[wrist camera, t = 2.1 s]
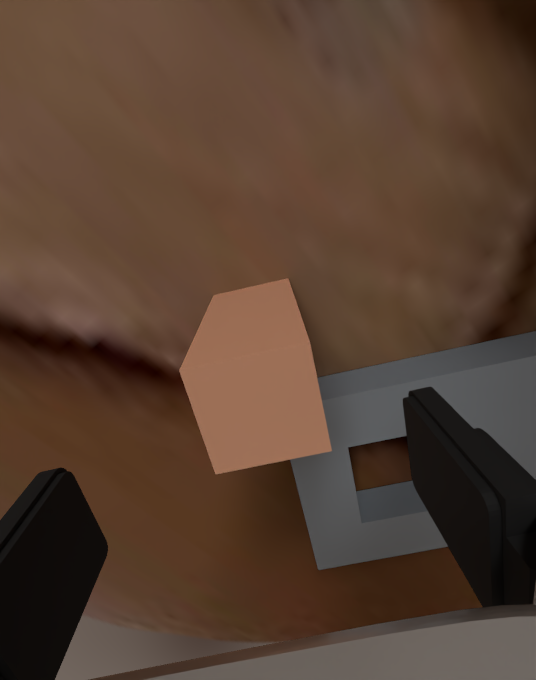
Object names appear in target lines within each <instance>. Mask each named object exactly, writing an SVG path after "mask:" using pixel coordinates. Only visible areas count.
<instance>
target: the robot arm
mask: <svg viewBox="0 0 536 680" xmlns="http://www.w3.org/2000/svg"><path fill="white" fill-rule="evenodd" d="M403 410H404V418H405V426H406V434H407V443H408V451H409V459H410V467H411V476H412V481H413V484H414V487H415V489H416V491H417V493H418V495H419V497H420V498H421V500H422V502H423V504H424V505H425V507H426V509H427V511H428V512H429V514H430V516H431V518H432V519H433V521H434V523H435V525H436V526H437V528H438V530H439V531H440V533H441V535H442V537H443V538H444V540H445V542H446V544H447V545H448V547H449V549H450V551H451V552H452V554H453V556H454V558H455V559H456V561H457V563H458V565H459V566H460V568H461V570H462V571H463V573H464V575H465V577H466V578H467V580H468V582H469V584H470V585H471V587H472V589H473V591H474V592H475V594H476V596H477V598H478V599H479V601H480V603H481V605H482V606H483V607H482V608H474V609H465V610H457V611H451V612H445V613H439V614H434V615H428V616H422V617H416V618H410V619H404V620H398V621H392V622H386V623H380V624H375V625H369V626H364V627H359V628H354V629H348V630H343V631H338V632H332V633H327V634H322V635H316V636H311V637H306V638H301V639H295V640H290V641H285V642H279V643H274V644H269V645H263V646H258V647H253V648H248V649H243V650H237V651H233V652H227V653H222V654H217V655H212V656H207V657H202V658H196V659H191V660H186V661H181V662H176V663H171V664H166V665H161V666H155V667H151V668H145V669H140V670H135V671H130V672H125V673H120V674H115V675H110V676H105V677H100V678H95V679H90V680H536V479H534V478H533V477H532V476H531V475H530V474H529V473H528V472H527V471H526V470H525V469H524V468H523V467H522V466H521V465H520V464H519V463H518V462H517V461H516V460H515V459H514V458H513V457H512V456H511V455H510V454H509V453H507V452H506V451H505V450H504V449H503V448H502V447H501V446H500V445H499V444H498V443H497V442H496V441H495V440H494V439H493V438H492V437H491V436H490V435H489V434H488V433H487V432H485V431H484V430H483V429H481V428H475V429H473V428H472V427H471V426H470V425H469V424H468V423H467V422H466V421H465V420H464V419H463V418H462V417H461V416H460V415H459V414H458V413H457V412H456V411H455V409H454V408H453V407H452V406H451V405H450V404H449V403H448V402H447V401H446V400H445V399H444V398H443V397H442V396H441V395H440V394H439V393H438V392H437V391H436V390H435V389H434V388H432V387H425V388H421V389H416V390H412V391H409V394H408V397H405V398H403ZM107 552H108V545H107V541H106V539H105V537H104V535H103V533H102V531H101V529H100V527H99V525H98V523H97V521H96V519H95V517H94V515H93V513H92V511H91V509H90V507H89V505H88V503H87V501H86V499H85V497H84V495H83V493H82V491H81V489H80V487H79V485H78V483H77V481H76V479H75V477H74V475H73V474H72V473H71V472H67V470H65V469H64V468H57V469H53V470H48V471H43V472H40V473H39V474H38V475H37V476H36V477H35V478H34V479H33V480H32V482H31V483H30V484H29V485H28V487H27V488H26V489H25V490H24V492H23V493H22V494H21V495H20V497H19V498H18V499H17V500H16V501H15V503H14V504H13V505H12V506H11V508H10V509H9V510H8V511H7V513H6V514H5V515H4V516H3V518H2V519H1V520H0V680H55V678H56V675H57V673H58V670H59V668H60V666H61V663H62V661H63V659H64V656H65V654H66V652H67V649H68V647H69V644H70V642H71V640H72V637H73V635H74V632H75V630H76V628H77V625H78V623H79V621H80V618H81V616H82V614H83V611H84V609H85V606H86V604H87V602H88V599H89V597H90V594H91V592H92V590H93V587H94V585H95V583H96V580H97V578H98V575H99V573H100V571H101V568H102V566H103V564H104V561H105V559H106V556H107Z"/></svg>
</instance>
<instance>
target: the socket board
mask: <svg viewBox="0 0 536 680" xmlns="http://www.w3.org/2000/svg"><path fill="white" fill-rule="evenodd" d="M317 379H318V384H319V389H320V394H321V399H322V404H323V409H324V414H325V419H326V424H327V429H328V434H329V439H330V444H331V449H332V451H330V452H325V453H320V454H315V455H310V456H305V457H300V458H295V459H290V461H291V465H292V469H293V473H294V477H295V481H296V484H297V488H298V492H299V496H300V500H301V504H302V508H303V512H304V516H305V520H306V524H307V528H308V532H309V536H310V540H311V543H312V547H313V551H314V555H315V559H316V563H317V567H318V570H322V569H327V568H333V567H338V566H344V565H349V564H355V563H360V562H366V561H371V560H377V559H383V558H388V557H394V556H399V555H405V554H410V553H416V552H421V551H427V550H432V549H438V548H443V547H448V545H447V544H446V542H445V540H444V538H443V537H442V535H441V533H440V531H439V530H438V528H437V526H436V525H435V523H434V521H433V519H432V518H431V516H430V514H429V512H428V511H427V509H426V507H425V505H424V504H423V502H422V500H421V498H420V497H419V495H418V493H417V491H416V489H415V487H414V484H413V481H408V482H403V483H397V484H392V485H387V486H382V487H377V488H372V489H366V490H361V491H356V489H355V483H354V478H353V472H352V467H351V461H350V456H349V450H348V447H353V446H358V445H363V444H368V443H373V442H378V441H383V440H388V439H393V438H398V437H403V436H407V434H406V426H405V418H404V410H403V398H405V397H408V394H409V391H412V390H416V389H421V388H425V387H432V388H434V389H435V390H436V391H437V392H438V393H439V394H440V395H441V396H442V397H443V398H444V399H445V400H446V401H447V402H448V403H449V404H450V405H451V406H452V407H453V408H454V409H455V411H456V412H457V413H458V414H459V415H460V416H461V417H462V418H463V419H464V420H465V421H466V422H467V423H468V424H469V425H470V426H471V427H472V428H473V429H475V428H481V429H483V430H484V431H485V432H487V433H488V434H489V435H490V436H491V437H492V438H493V439H494V440H495V441H496V442H497V443H498V444H499V445H500V446H501V447H502V448H503V449H504V450H505V451H506V452H507V453H509V454H510V455H511V456H512V457H513V458H514V459H515V460H516V461H517V462H518V463H519V464H520V465H521V466H522V467H523V468H524V469H525V470H526V471H527V472H528V473H529V474H530V475H531V476H532V477H533V478H534V479H536V331H534V332H529V333H525V334H520V335H515V336H510V337H506V338H501V339H496V340H492V341H487V342H482V343H478V344H473V345H468V346H464V347H459V348H454V349H449V350H445V351H440V352H435V353H431V354H426V355H421V356H417V357H412V358H407V359H403V360H398V361H393V362H388V363H384V364H379V365H374V366H370V367H365V368H360V369H356V370H351V371H346V372H342V373H337V374H332V375H327V376H323V377H318V378H317Z"/></svg>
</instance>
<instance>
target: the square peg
mask: <svg viewBox="0 0 536 680" xmlns="http://www.w3.org/2000/svg"><path fill="white" fill-rule="evenodd" d="M179 371H180V374H181V377H182V380H183V383H184V386H185V388H186V391H187V394H188V397H189V400H190V403H191V406H192V408H193V411H194V414H195V417H196V420H197V423H198V426H199V428H200V431H201V434H202V437H203V440H204V443H205V446H206V448H207V451H208V454H209V457H210V460H211V463H212V466H213V468H214V471H215V474H220V473H225V472H230V471H235V470H240V469H245V468H250V467H255V466H260V465H265V464H270V463H275V462H280V461H285V460H290V459H295V458H300V457H305V456H310V455H315V454H320V453H325V452H330V451H332V449H331V444H330V439H329V434H328V429H327V424H326V419H325V414H324V409H323V404H322V399H321V394H320V389H319V384H318V379H317V374H316V369H315V364H314V359H313V354H312V350H311V345H310V341H309V338H308V335H307V332H306V329H305V326H304V323H303V320H302V317H301V314H300V311H299V308H298V305H297V302H296V300H295V297H294V294H293V291H292V288H291V285H290V282H289V279H288V278H287V279H282V280H278V281H274V282H269V283H265V284H261V285H256V286H252V287H248V288H243V289H239V290H235V291H230V292H226V293H222V294H217V295H213V298H212V300H211V302H210V304H209V306H208V309H207V311H206V313H205V315H204V317H203V320H202V322H201V324H200V326H199V328H198V331H197V333H196V335H195V337H194V339H193V342H192V344H191V346H190V348H189V350H188V353H187V355H186V357H185V359H184V361H183V364H182V366H181V368H180V370H179Z"/></svg>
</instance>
